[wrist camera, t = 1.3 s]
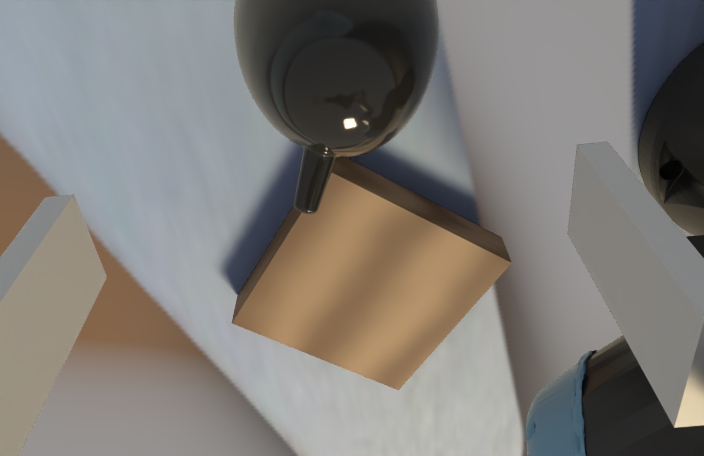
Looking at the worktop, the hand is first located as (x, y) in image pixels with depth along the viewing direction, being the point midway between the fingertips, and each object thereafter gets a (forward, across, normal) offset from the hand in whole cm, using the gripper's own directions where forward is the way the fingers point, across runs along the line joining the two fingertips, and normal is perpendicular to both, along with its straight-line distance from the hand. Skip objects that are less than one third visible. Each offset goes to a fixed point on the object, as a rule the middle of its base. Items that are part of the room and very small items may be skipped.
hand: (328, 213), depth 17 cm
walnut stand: (+22, 0, +19) cm, 29 cm away
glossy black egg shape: (+22, 0, 0) cm, 23 cm away
